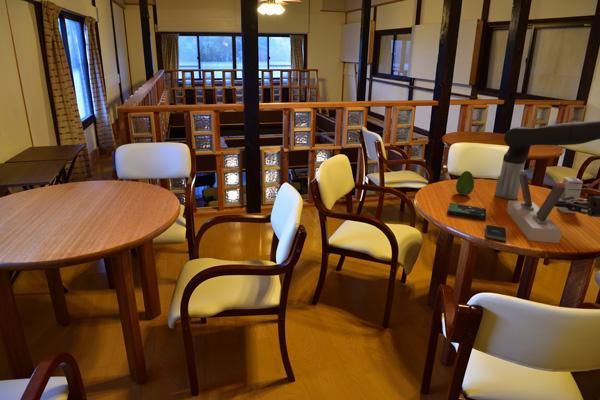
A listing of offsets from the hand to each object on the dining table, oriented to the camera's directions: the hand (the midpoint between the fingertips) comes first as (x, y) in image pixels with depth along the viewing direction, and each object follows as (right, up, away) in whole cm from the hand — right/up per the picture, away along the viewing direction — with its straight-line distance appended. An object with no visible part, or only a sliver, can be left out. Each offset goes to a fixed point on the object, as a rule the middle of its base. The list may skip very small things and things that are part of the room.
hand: (552, 203), depth 151 cm
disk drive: (-23, -5, +22) cm, 32 cm away
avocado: (-15, +3, +46) cm, 48 cm away
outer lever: (-3, -5, +2) cm, 6 cm away
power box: (-2, -9, +12) cm, 15 cm away
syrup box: (+24, -4, +29) cm, 38 cm away
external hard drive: (-20, -13, +2) cm, 24 cm away
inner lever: (0, 0, +16) cm, 16 cm away
